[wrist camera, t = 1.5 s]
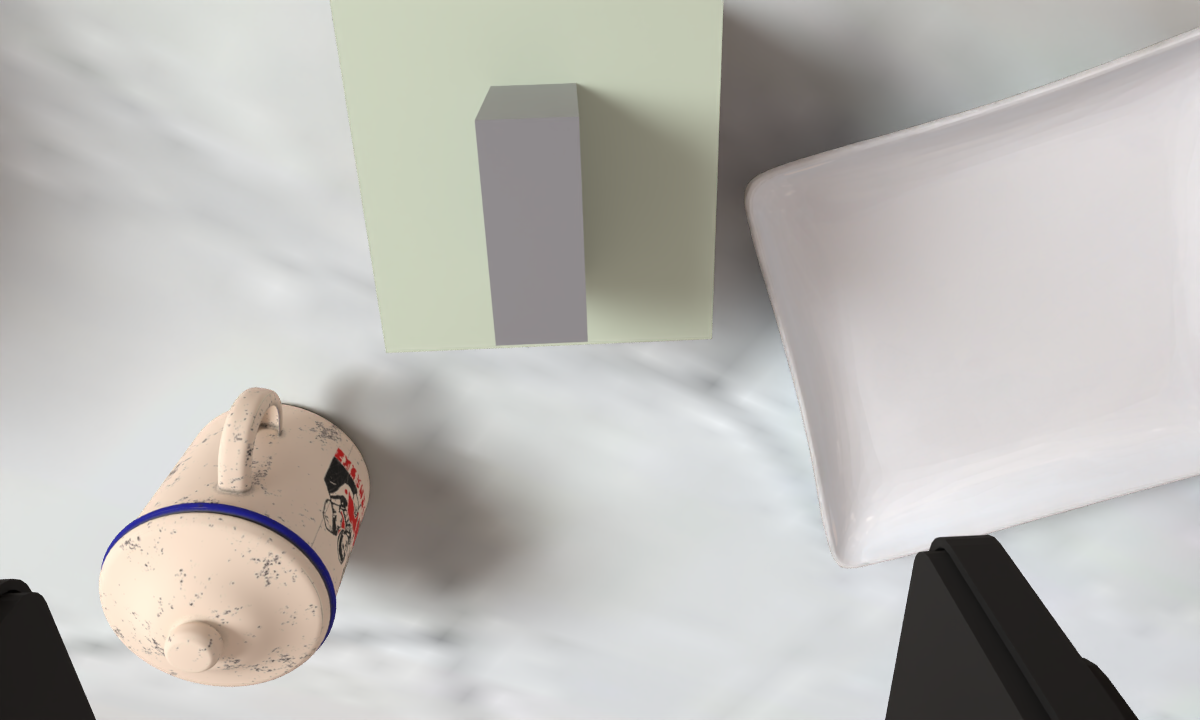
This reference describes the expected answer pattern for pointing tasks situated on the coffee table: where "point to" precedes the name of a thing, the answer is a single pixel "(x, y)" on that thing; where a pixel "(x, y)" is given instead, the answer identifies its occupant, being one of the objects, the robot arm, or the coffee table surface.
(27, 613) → the robot arm
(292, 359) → the coffee table surface
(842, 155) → the salad plate
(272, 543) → the teacup with lid
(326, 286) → the coffee table surface
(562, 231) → the lid
